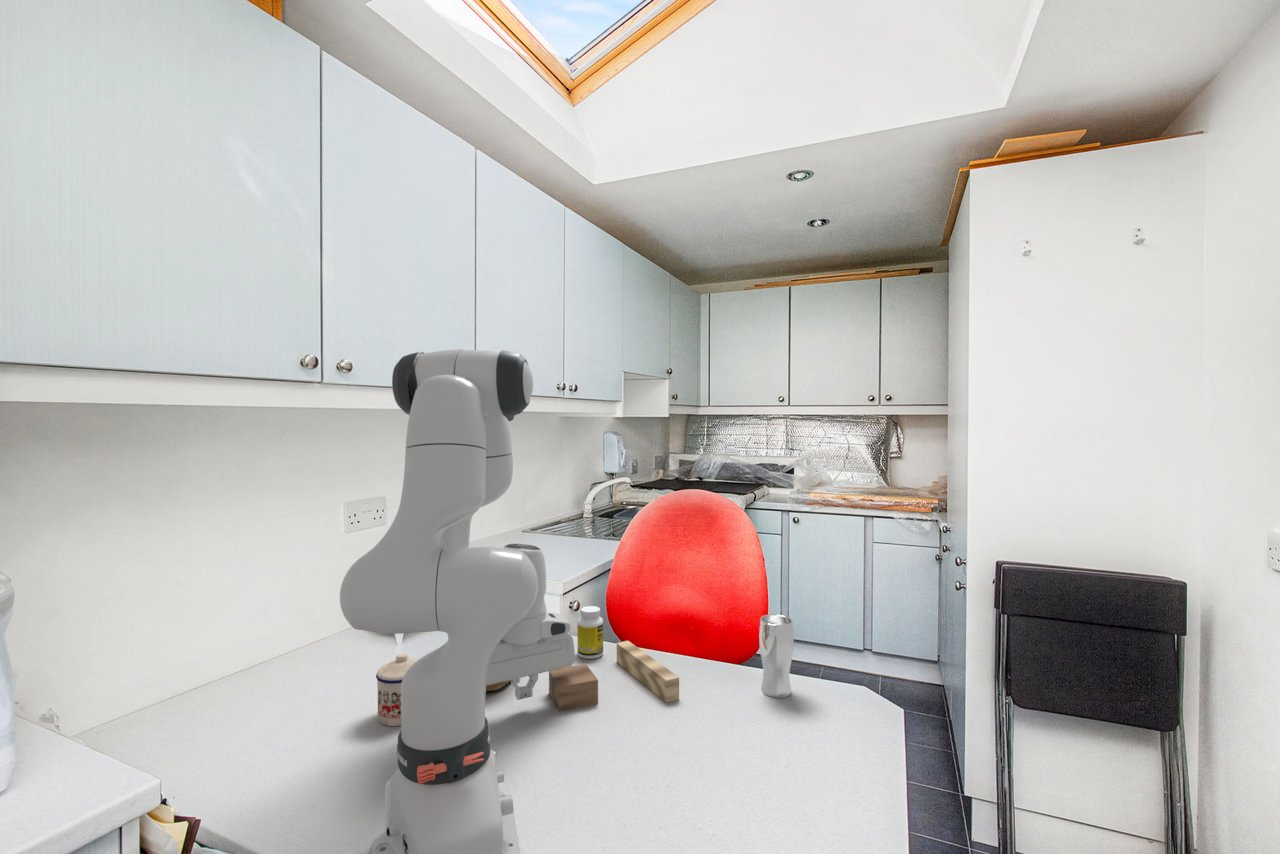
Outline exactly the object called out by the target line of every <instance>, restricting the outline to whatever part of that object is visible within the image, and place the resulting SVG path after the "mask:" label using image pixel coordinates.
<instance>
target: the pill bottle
mask: <svg viewBox="0 0 1280 854" xmlns="http://www.w3.org/2000/svg"><path fill="white" fill-rule="evenodd" d="M600 615H601V607H599V606H597V605H596V606H595V605H587V606H583V607H582V608H581V609H580V617H579V618H578V620H577V655H578V657H579V658H582V659H585V660H594V659H595V660H596V659H599V658H601V656H603V655H604V619H603V618H602V617H601V616H600Z"/></svg>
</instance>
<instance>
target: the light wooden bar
mask: <svg viewBox="0 0 1280 854" xmlns="http://www.w3.org/2000/svg"><path fill="white" fill-rule="evenodd" d="M617 662H618V663H619V664H618V663H617ZM616 663H617V664H618V665H620V667H622V668H623V669H624V668H625V669H624V670H626V671H627V673H629V674H630V675H632V676H633V677H634V678H636V680H638V681H639V682H640V683H642V685H644V686H645V687H646V688H647V689H649V690H650V691H652V692H653V693H654V694H655V695H656V696H657V697H658V698H660V699H661V700H662V701H663V702H664V703H666V704H667V703H671V702H675V701H678V700H680V677H679V676H678V675H677V674H675V672H672V671H671V670H670V669H669V668H667V667H665V666H664V665H663V664H661V662H659V661H657V660H656V659H655V658H653V657H652V656H650V655H649V654H647V653H646V652H645V651H644V650H642V649H641V648H639V647H637V646H636V645H635V644H633V643H632V642H631V641H629V640H624V641H620V642H616Z"/></svg>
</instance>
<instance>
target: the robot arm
mask: <svg viewBox="0 0 1280 854" xmlns="http://www.w3.org/2000/svg"><path fill="white" fill-rule="evenodd" d="M391 381H392V382H391V387H392V392H393V397H394V401H395V403H396V404H397V406H398V408H400V409H401V410H402V411H403V412H404V413H405V414H406V415H408V421H407V430H406V437H405V452H404V453H405V454H404V455H405V456H404V457H405V458H404V473H403V481H402V490H401V497H400V501H399V506H398V510H397V513H396V515H395V517H394V519H393V521H392V523H391V525H390V527H389V529H388V530H387V532H386V533H385V534H384V535H383V537H382V538H381V539H380V540H379V542H377V543H376V545H374V547H373V548H372V549H370V550H369V551H368V552H366V554H364V555H361V557H359V558H358V559H357V560H355V562H354V563H353V564H352V565H351V566H350V567H349V569H348V570H347V571H346V574H345V576H344V578H343V580H342V582H341V586H340V591H339V604H340V609H341V612H342V615H343V617H344V618H345V620H346V621H347V622H348V624H349V625H350V626H351V627H352V628H353V629H354V630H356V631H357V630H358V631H365V632H369V633H378V634H385V635H386V634H387V635H398V634H399V635H400V634H401V635H402V634H411V633H415V634H417V633H429V632H431V633H432V632H442V633H446V634H447V641H446V642H445V643H443V644H442V645H441V646H440V647H438V648H436V649H434V650H432V651H431V652H429V653H426V654H425V655H424V656H422V657H420V658H418V659H419V660H417V661H416V662H415V663H414V664H413V665H412V666H411V667H410V668H409V669H408V670H407V672H406V673H405V675H404V677H403V680H402V683H401V726H400V731H399V733H398V736H397V744H396V757H397V768H396V770H395V772H394V773H393V775H392V776H391V777H390V778H389V780H388V781H387V782H386V783H385V800H384V801H385V804H384V805H385V806H384V831H383V832H382V833H380V834H379V835H378V836H377V837H376V838H374V839H373V841H372V842H371V843H370V848H369V850H370V851H369V854H521V852H520V847H519V840H518V835H517V827H516V821H515V816H514V801H513V800H514V799H513V795H512V794H511V793H510V794H506V795H505V793H504V791H499V784H500V783H504V782H505V771H504V770H502V771H497V752H496V751H494V750H493V749H492V748H491V744H490V742H491V733H490V728H489V721H488V719H487V717H486V693H487V691H486V686H487V685H491V684H495V683H500V682H504V681H508V680H510V681H509V682H510V684H511V685H512V686H513V688H514V691H515V692H514V693H515V699H516V700H517V701H520V700H523V699H528V698H532V697H533V695H534V694H533V689H534V687H535V685H536V683H537V681H538V679H539V675H540V674H543V673H549V671H552V670H556V669H561V668H566V667H572V666H573V663H574V662H575V659H576V658H575V657H576V654H575V653H576V652H575V651H576V650H575V642H574V638H573V636H572V634H570V631H571V623H570V622H569V621H568V620H567V619H566V617H564V616H563V615H561V614H559V613H556V612H551V611H550V612H549V611H547V605H546V603H545V602H546V601H545V594H546V591H547V568H546V560H545V556H544V553H543V551H542V549H541V548H540V547H538V546H535V545H532V544H526V543H525V544H524V543H523V544H522V543H508V544H505V545H504V546H503V547H502V548H501V547H495V546H482V547H480V546H479V547H470V535H471V522H472V519H473V516H474V515H475V513H477V512H478V511H479V510H480V508H482V507H485V506H487V505H490V504H492V503H493V502H496V501H497V500H499V499H500V498H501V497H502V496H503V495H504V494H505V493H506V491H507V490H508V489H509V487H510V486H511V483H512V480H513V472H514V462H513V446H512V436H511V430H510V423H509V422H512V421H513V420H514V419H515V416H517V415H520V414H521V413H523V412H524V410H526V408H527V407H528V406H529V404H530V401H531V397H532V396H533V395H532V394H533V392H534V391H533V390H534V378H533V373H532V370H531V368H530V366H529V363H528V360H527V359H526V357H524V356H523V355H522V354H521V353H519V352H514V351H510V350H509V351H508V350H500V351H491V350H477V349H475V350H472V349H471V350H470V349H469V350H468V349H467V350H464V349H461V348H460V349H448V350H447V349H446V350H439V351H431V352H424V351H419V352H414V353H410V354H409V353H408V354H407V355H404V356H402V357H400V359H399V360H398V361H397V363H396V364H395V366H394V367H393V371H392V377H391ZM524 677H526V678H527V677H528V678H529V679H528V680H527V683H526V685H523V686H519V685H518V684H520V681H521V678H524Z"/></svg>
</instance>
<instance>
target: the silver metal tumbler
mask: <svg viewBox="0 0 1280 854" xmlns="http://www.w3.org/2000/svg"><path fill="white" fill-rule="evenodd" d="M759 620H760V621H759V622H760V623H759V634H758V638H759V640H758V641H759V643H758V644H759V651H760V652H759V653H760V657H761V664H762V670H763V673H762V683H761V693H763V694H764V695H765V696H768V697H771V698H775V699H776V698H777V699H783V698H787V697H789V696H791V694H792V687H791V681H790V674H791V673H790V671H791V664H792V660H793V659H792V658H793V653H794V644H795V643H794V640H795V639H794V636H795V635H794V624H793V619H792V618H791V617H789V616H786V615H782V614H776V613H775V614H773V613H772V614H765V615H762V616H761V617H760V619H759Z"/></svg>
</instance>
